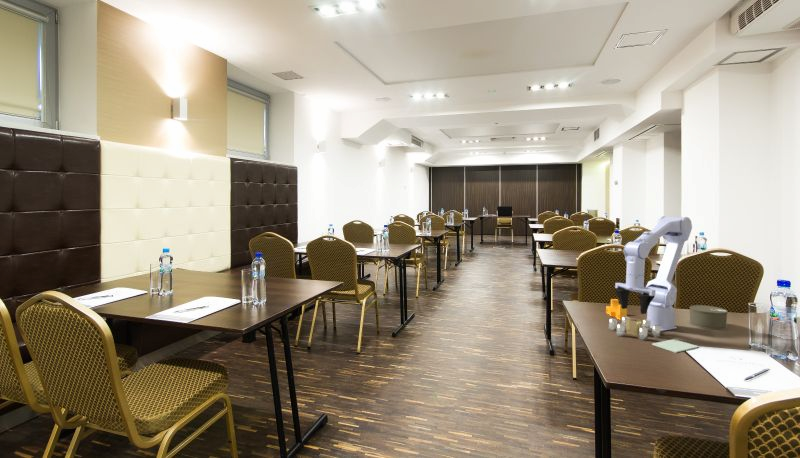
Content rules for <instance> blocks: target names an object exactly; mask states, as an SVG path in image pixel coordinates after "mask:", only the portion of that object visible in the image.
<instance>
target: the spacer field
mask: <svg viewBox="0 0 800 458" xmlns="http://www.w3.org/2000/svg"><path fill="white" fill-rule="evenodd" d="M628 318H630V316H628V315H627V316H622V321H621V323H618V319H617V318H615V317H610V318H609V319H608V330H610V331H616V336H617V337H625V335H626V319H628ZM650 326H651V321H650V320H647V318H646V319H645V318H644V319H642V327H639V335H638V340H640V341H648V333H649V332H651V338H654V339H660V338H661V331H660V330H661V326H659V325H652V328H650Z"/></svg>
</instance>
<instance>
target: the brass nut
mask: <svg viewBox="0 0 800 458" xmlns="http://www.w3.org/2000/svg"><path fill="white" fill-rule="evenodd" d="M642 324H643V320H641V319H639V318H633V317H629V318H628V319H626V328H625V333H627V334H628V335H632V336H633V335H634V336H639V327H642Z"/></svg>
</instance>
